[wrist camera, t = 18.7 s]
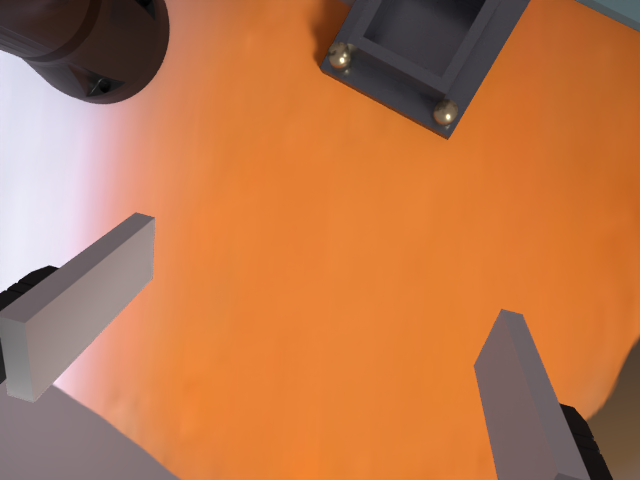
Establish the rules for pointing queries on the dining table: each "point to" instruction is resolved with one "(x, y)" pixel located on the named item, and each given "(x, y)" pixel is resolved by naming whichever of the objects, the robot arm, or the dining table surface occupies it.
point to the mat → (618, 10)
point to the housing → (421, 54)
